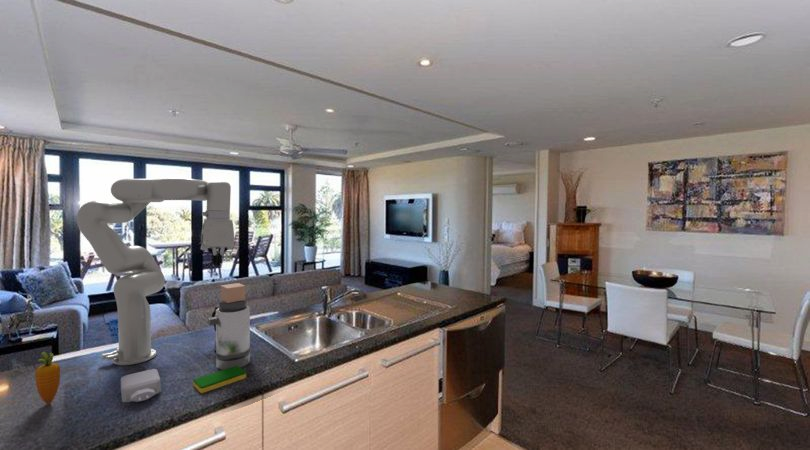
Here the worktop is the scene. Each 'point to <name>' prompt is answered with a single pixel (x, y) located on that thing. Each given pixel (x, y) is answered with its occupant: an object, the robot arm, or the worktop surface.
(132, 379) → the charger
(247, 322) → the airpot
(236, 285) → the airpot button
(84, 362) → the worktop surface
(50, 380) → the carrot
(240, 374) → the dish sponge
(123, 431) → the worktop surface
